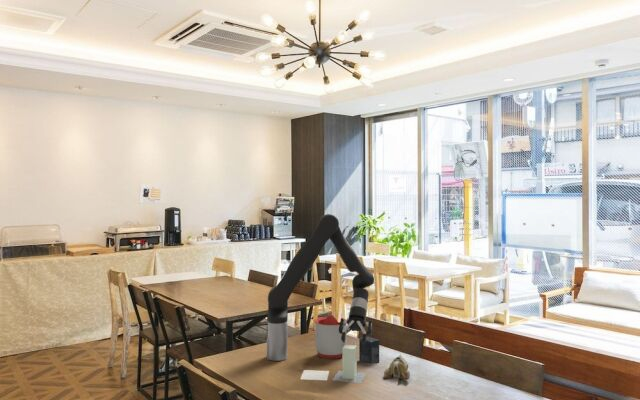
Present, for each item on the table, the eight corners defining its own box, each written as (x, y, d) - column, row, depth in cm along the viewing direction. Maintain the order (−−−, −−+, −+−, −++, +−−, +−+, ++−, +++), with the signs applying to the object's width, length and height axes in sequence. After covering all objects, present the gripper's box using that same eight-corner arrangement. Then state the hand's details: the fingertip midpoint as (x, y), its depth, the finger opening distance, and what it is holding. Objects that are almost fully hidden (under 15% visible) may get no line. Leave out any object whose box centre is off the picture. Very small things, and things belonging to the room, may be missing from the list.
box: (379, 362, 225) (379, 339, 225) (370, 365, 221) (371, 341, 221) (367, 358, 231) (367, 335, 231) (358, 360, 227) (358, 338, 227)
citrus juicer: (354, 353, 238) (354, 312, 238) (336, 363, 223) (336, 319, 223) (327, 348, 246) (327, 308, 246) (307, 357, 232) (308, 315, 232)
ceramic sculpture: (412, 352, 212) (408, 365, 198) (412, 372, 212) (408, 386, 198) (388, 350, 215) (382, 363, 201) (388, 369, 215) (382, 383, 201)
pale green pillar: (342, 378, 202) (342, 348, 202) (345, 373, 207) (345, 344, 207) (354, 379, 201) (354, 349, 201) (356, 375, 206) (356, 345, 206)
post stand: (332, 382, 200) (332, 367, 200) (339, 372, 211) (339, 358, 211) (360, 385, 197) (361, 370, 197) (366, 375, 208) (366, 361, 208)
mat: (300, 381, 201) (300, 379, 201) (303, 372, 212) (303, 369, 212) (326, 382, 199) (326, 380, 199) (329, 373, 210) (329, 371, 210)
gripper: (341, 304, 220) (335, 336, 209) (373, 306, 216) (368, 339, 205) (344, 313, 225) (338, 345, 214) (375, 315, 222) (370, 348, 211)
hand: (353, 342), depth 210 cm, fingers open, 8 cm apart
